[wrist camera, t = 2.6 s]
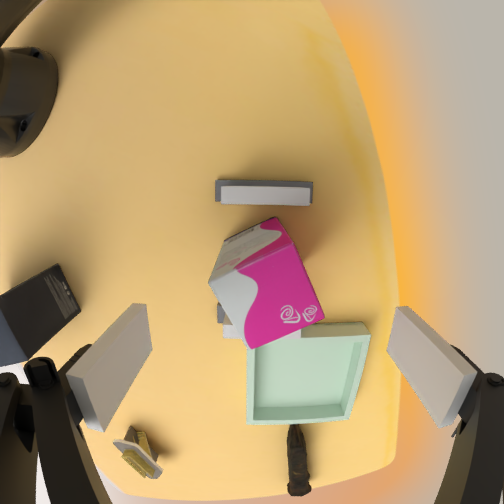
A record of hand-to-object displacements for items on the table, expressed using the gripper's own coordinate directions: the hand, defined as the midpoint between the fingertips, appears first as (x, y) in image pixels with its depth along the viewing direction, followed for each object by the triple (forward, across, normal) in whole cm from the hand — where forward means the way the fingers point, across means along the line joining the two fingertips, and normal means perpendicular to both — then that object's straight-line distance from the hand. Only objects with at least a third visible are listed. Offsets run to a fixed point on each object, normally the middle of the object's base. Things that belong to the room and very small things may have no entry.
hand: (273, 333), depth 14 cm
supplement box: (+15, 0, 0) cm, 15 cm away
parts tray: (+15, +5, -14) cm, 21 cm away
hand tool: (+16, +5, -32) cm, 36 cm away
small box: (+15, -29, -7) cm, 34 cm away
